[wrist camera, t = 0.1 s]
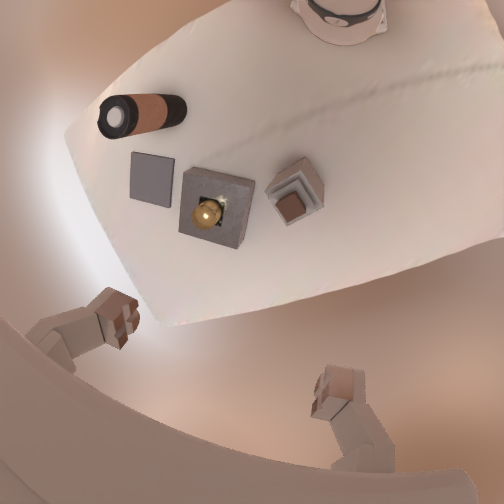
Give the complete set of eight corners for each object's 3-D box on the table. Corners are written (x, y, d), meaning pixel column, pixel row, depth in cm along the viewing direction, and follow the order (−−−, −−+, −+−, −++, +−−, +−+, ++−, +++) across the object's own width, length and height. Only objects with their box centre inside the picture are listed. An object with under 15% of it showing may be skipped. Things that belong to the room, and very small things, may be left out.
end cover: (208, 191, 59) (192, 203, 52) (229, 197, 58) (216, 209, 52) (205, 212, 62) (190, 226, 55) (226, 218, 61) (213, 233, 54)
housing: (194, 167, 58) (183, 172, 54) (255, 181, 56) (249, 187, 52) (188, 223, 65) (178, 232, 61) (243, 239, 64) (237, 249, 59)
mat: (133, 151, 60) (131, 152, 59) (174, 158, 58) (173, 159, 58) (131, 196, 66) (129, 197, 65) (170, 207, 64) (169, 208, 64)
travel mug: (194, 115, 52) (137, 123, 35) (167, 133, 56) (107, 148, 39) (178, 87, 50) (118, 85, 33) (153, 106, 53) (90, 113, 36)
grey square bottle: (295, 200, 56) (283, 237, 41) (278, 173, 55) (257, 200, 39) (324, 185, 53) (323, 217, 38) (306, 156, 51) (298, 176, 36)
